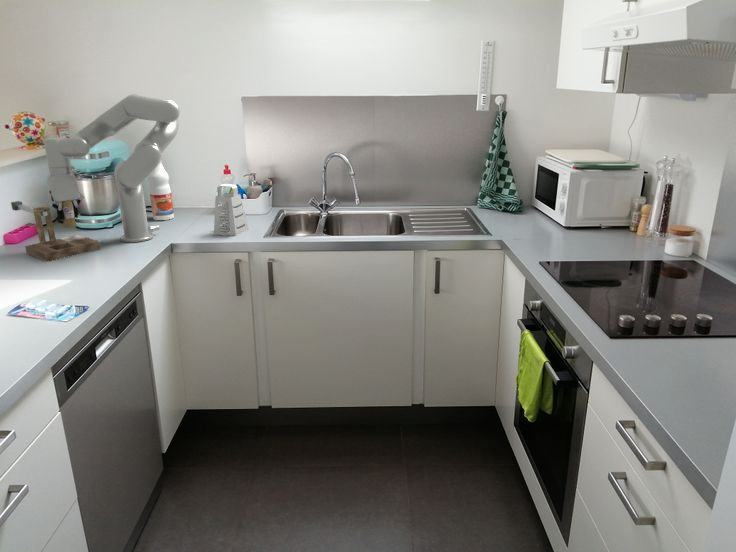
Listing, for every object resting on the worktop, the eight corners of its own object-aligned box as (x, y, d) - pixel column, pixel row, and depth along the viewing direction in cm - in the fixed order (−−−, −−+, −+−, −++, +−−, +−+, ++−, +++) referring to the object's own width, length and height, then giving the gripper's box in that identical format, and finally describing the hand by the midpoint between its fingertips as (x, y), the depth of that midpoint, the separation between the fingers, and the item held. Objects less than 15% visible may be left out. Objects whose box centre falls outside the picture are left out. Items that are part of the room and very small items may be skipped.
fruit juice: (165, 215, 281) (157, 156, 272) (178, 217, 276) (171, 157, 267) (148, 219, 274) (140, 158, 264) (162, 222, 269) (154, 160, 259)
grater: (235, 235, 244) (231, 187, 238) (213, 234, 247) (209, 186, 241) (248, 229, 254) (244, 183, 247) (227, 228, 257) (222, 182, 250)
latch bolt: (20, 208, 239) (18, 201, 238) (50, 216, 224) (48, 209, 223) (12, 209, 237) (10, 202, 236) (42, 218, 222) (40, 210, 221)
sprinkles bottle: (64, 228, 227) (58, 193, 223) (62, 225, 231) (56, 191, 226) (77, 226, 229) (71, 192, 225) (75, 224, 233) (69, 190, 229)
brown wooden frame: (78, 242, 238) (71, 201, 233) (100, 249, 228) (93, 207, 223) (26, 253, 223) (17, 211, 218) (47, 261, 213) (38, 217, 208)
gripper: (77, 167, 231) (85, 213, 237) (32, 173, 219) (41, 221, 225) (87, 169, 227) (94, 215, 233) (42, 175, 214) (51, 224, 220)
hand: (68, 217), depth 229 cm, fingers closed on sprinkles bottle, 4 cm apart
